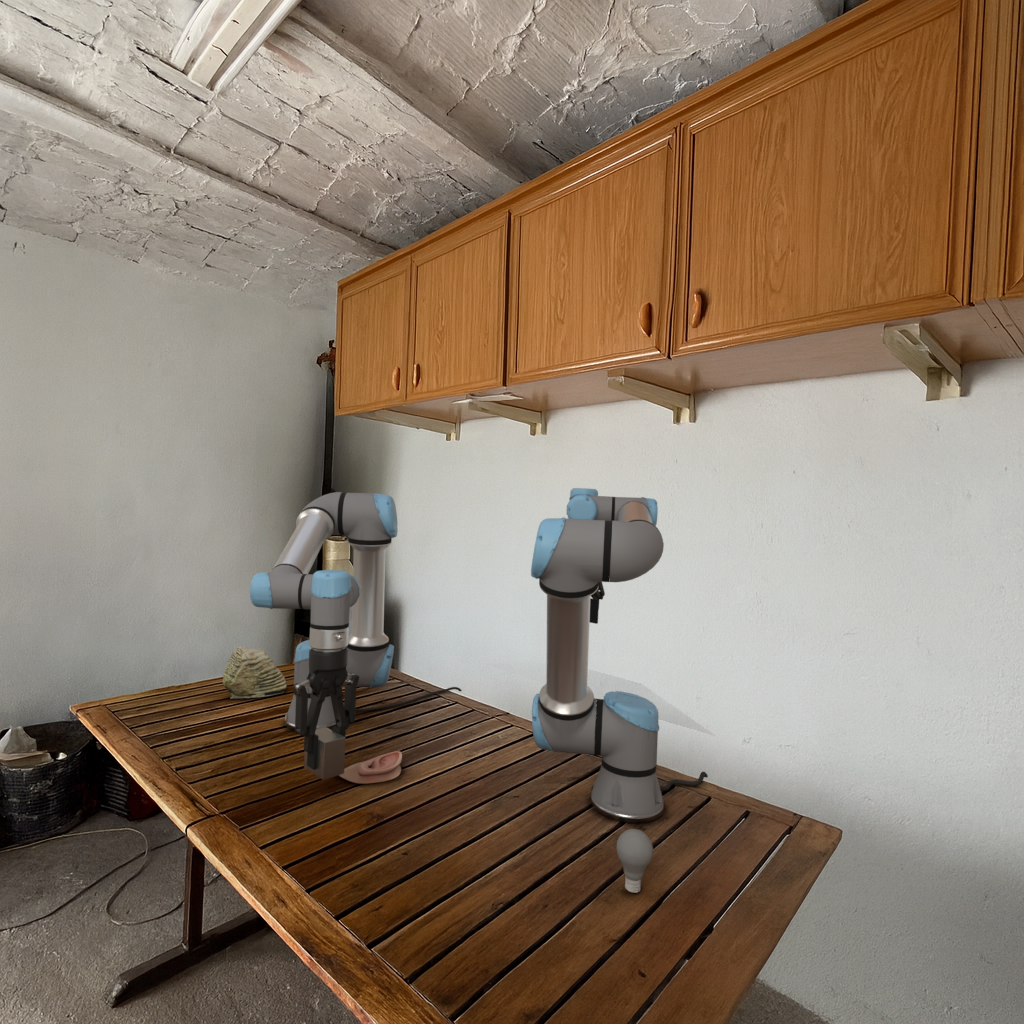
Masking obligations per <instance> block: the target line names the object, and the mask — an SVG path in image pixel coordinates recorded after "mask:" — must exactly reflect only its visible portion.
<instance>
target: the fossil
mask: <svg viewBox="0 0 1024 1024" xmlns="http://www.w3.org/2000/svg"><path fill="white" fill-rule="evenodd" d="M222 676H223V677H222V685H223V687H224V688H225V690H226V691H228V693H229V698H230V699H250V698H264V697H271V696H275V695H281V694H284V693H285V691H286V689H287V687H288V686H287V680H286V678H285V676H284V674H283V673H282V672H281V669H279V668H278V667H277V665H276V663H275V662H274V660H273V659H272V658H271V657H270V656H269V655H268V654H267V653H266V652H265V650H264V649H263V648H260V647H258V648H251V647H247V646H246V647H245V646H238V647H237V648H236V649H235V650H233V651H232V653H231V656H230V657H229V659H228V660H227V663H226V666H225V668H224V671H223V675H222Z"/></svg>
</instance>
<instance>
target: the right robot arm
mask: <svg viewBox="0 0 1024 1024" xmlns="http://www.w3.org/2000/svg"><path fill="white" fill-rule="evenodd" d="M568 498H569V501H568V502H567V504H566V516H567V518H566V517H565V516H563V517H559V518H558V517H555V518H553V517H551V518H549V517H547V518H544V519H542V520H541V521H540V523H539V525H538V529H537V531H536V536H535V543H534V548H533V553H532V560H531V568H530V576H531V577H532V578H534V579H536V580H538V584H539V589H540V590H541V591H542V592H543V593H544V594H545V595H546V673H545V674H546V675H545V676H546V678H545V679H546V682H545V684H544V685H543V686H542V687H541V688H540V690H539V693H536V694H535V695H534V696H533V699H532V705H531V720H532V721H531V725H532V726H531V727H532V735H533V739H534V743H535V744H536V746H537V747H538V749H541V750H545V751H550V752H553V753H567V754H568V753H570V754H577V755H590V756H597V757H599V756H600V757H601V761H600V768H599V771H598V774H597V777H596V779H595V781H594V783H593V785H592V786H591V789H590V794H591V795H590V804H591V806H592V807H593V809H594V810H595V811H596V812H597V813H599V814H601V815H602V816H604V817H607V818H608V819H610V820H615V821H618V822H622V823H630V824H643V823H644V824H645V823H649V822H653V821H656V820H658V819H659V818H660V817H662V815H663V813H664V805H665V804H664V803H665V802H664V797H663V793H662V792H667V791H669V790H670V789H671V787H672V786H673V785H681V786H688V787H696V786H699V785H700V784H702V783H703V781H704V779H705V778H708V777H709V776H708V773H707V772H705V771H701V772H700V774H699V777H698V778H697V779H696V780H684V779H671V780H669V781H667V783H666V785H664V786H663V785H660V783H659V777H658V775H657V764H658V742H659V741H658V739H659V738H658V737H659V731H660V724H659V710H658V707H657V705H655V703H654V702H652V701H651V700H649V699H647V698H646V697H644V696H641V695H639V694H635V693H631V692H626V691H620V690H616V691H614V690H613V691H607V692H606V693H605V694H604V696H603V698H595V695H594V692H593V690H592V688H591V687H590V686H589V685H588V677H589V674H588V673H589V652H590V651H589V646H590V624H591V623H592V624H596V625H598V624H599V610H600V600H601V601H603V599H604V597H605V595H606V593H605V589H604V584H603V583H622V582H629V581H633V580H634V579H637V578H639V577H642V576H643V575H645V574H647V573H648V572H649V571H651V570H652V569H654V568H655V567H656V565H657V564H658V563H659V562H660V560H661V558H662V556H663V553H664V547H665V546H664V545H665V544H664V539H663V535H662V533H661V531H660V529H659V528H658V527H657V523H658V512H659V511H658V509H659V508H658V507H659V506H658V501H657V500H656V499H655V498H649V497H644V496H642V497H631V496H630V497H626V496H610V495H609V496H607V495H606V496H605V495H603V496H602V495H599V491H598V490H597V489H596V488H585V487H584V488H581V487H573V488H572V489H570V494H569V497H568ZM697 780H698V781H697Z"/></svg>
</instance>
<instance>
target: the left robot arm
mask: <svg viewBox="0 0 1024 1024" xmlns="http://www.w3.org/2000/svg"><path fill="white" fill-rule="evenodd" d="M398 532H399V531H398V514H397V506H396V502H395V499H394V498H393V497H392V496H391V495H389V494H383V493H377V492H375V493H374V492H372V493H371V492H343V491H336V492H335V491H334V492H329V493H327V494H323V495H321V496H319V497H317V498H315V499H314V500H312V501H310V502H309V503H308V504H307V505H305V506H304V508H303V509H302V510H301V511H300V512H299V514H298V516H297V517H296V520H295V529H294V531H293V532H292V534H291V536H290V538H289V540H288V542H287V543H286V545H285V547H284V548H283V550H282V551H281V554H280V555H279V557H278V559H277V560H276V562H275V564H274V565H273V568H272V569H271V571H269V572H268V571H264V572H257V573H255V574H254V576H253V577H252V578H251V581H250V586H249V597H250V601H251V604H252V605H253V606H254V607H256V608H264V609H270V610H274V609H276V610H277V609H280V610H281V609H282V610H284V609H285V610H289V609H290V610H310V625H309V626H310V627H309V639H307V640H304V641H302V642H300V643H298V644H297V645H296V648H295V655H294V659H293V662H294V672H293V695H292V696H293V697H292V699H291V702H290V704H289V708H288V711H287V712H286V714H285V715H284V719H285V726H286V728H287V729H289V730H291V731H294V732H295V733H296V734H298V735H300V736H302V737H303V750H304V752H305V751H306V752H307V766H308V767H310V768H312V769H313V770H315V769H317V758H318V735H316V734H315V731H316V729H320V728H324V727H327V728H329V729H331V730H333V731H334V732H336V733H338V734H340V735H342V736H344V737H345V738H346V735H347V734H346V733H347V732H346V731H347V730H348V729H349V728H350V724H354V723H355V722H356V712H359V713H360V712H369V711H378V710H383V709H389V708H395V707H399V706H402V705H406V704H407V705H408V704H410V703H414V702H417V701H419V700H422V699H424V698H428V697H430V696H431V697H432V696H433V695H436V694H441V693H445V692H449V691H452V690H457V692H462V691H463V690H462V689H461V688H460V687H458V686H451V687H448V688H445V689H440V690H435V691H432V692H429V693H426V694H422V695H419V696H417V697H415V698H414V697H413V698H412V699H408V700H404V701H402V702H401V701H400V702H397V703H392V704H391V703H390V704H386V705H381V706H373V707H366V708H356V706H357V705H356V704H357V688H368V689H372V688H383V687H385V685H387V684H388V681H389V678H390V674H391V669H392V664H393V658H394V653H395V652H394V651H395V645H393V644H391V643H389V642H390V641H389V640H390V639H389V636H388V635H387V634H385V632H384V625H385V623H384V621H385V591H386V590H385V586H386V585H385V584H386V551H387V548H388V547H389V546H390V545H392V539H394V538H396V537H398ZM331 536H347V543H348V544H349V546H350V547H352V549H353V561H352V562H353V564H352V565H353V567H352V574H350V573H349V571H346V570H343V569H342V570H341V569H323V570H316V571H315V572H313V573H312V574H309V573H310V571H311V569H312V567H313V565H314V563H315V560H316V558H317V557H318V554H319V553H320V550H321V549H322V546H323V544H324V542H325V541H326V540H328V539H329V538H330V537H331ZM351 608H352V609H351ZM350 609H351V610H352V612H351V613H352V614H351V633H350V634H349V632H350V631H349V630H350V629H349V628H350V611H351V610H350ZM343 687H344V692H343ZM343 696H344V698H343Z"/></svg>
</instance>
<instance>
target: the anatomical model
mask: <svg viewBox="0 0 1024 1024" xmlns="http://www.w3.org/2000/svg"><path fill="white" fill-rule="evenodd" d="M402 761H403V754H402V751H399V750H397V751H391V752H387V753H384V754H381V755H377V756H375V757H373V758H370V759H367V760H365V761H361V762H355V763H353V764H351V765H349V766H347V767H344V774H341V775H338V777H340V778H342V779H344V780H346V781H347V782H350V783H352V784H353V783H354V784H375V783H383V782H387V781H391V780H393V779H396V778H398V777H399V776H400V774H401V772H402V767H401V763H402Z"/></svg>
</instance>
